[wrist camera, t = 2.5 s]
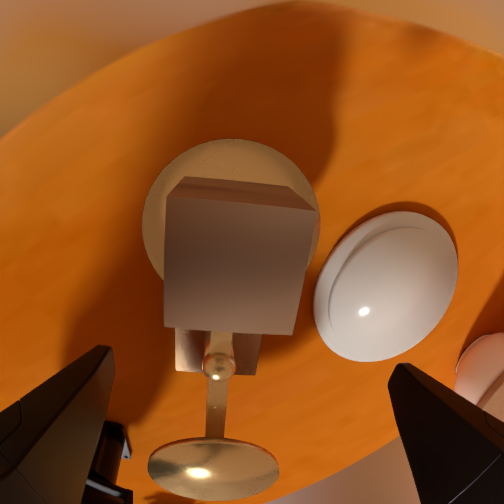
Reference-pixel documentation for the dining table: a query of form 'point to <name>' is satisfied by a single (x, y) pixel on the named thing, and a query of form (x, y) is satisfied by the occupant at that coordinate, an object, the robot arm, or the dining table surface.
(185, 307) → the block
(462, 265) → the dining table surface
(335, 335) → the dish
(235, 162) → the balance
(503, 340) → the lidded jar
